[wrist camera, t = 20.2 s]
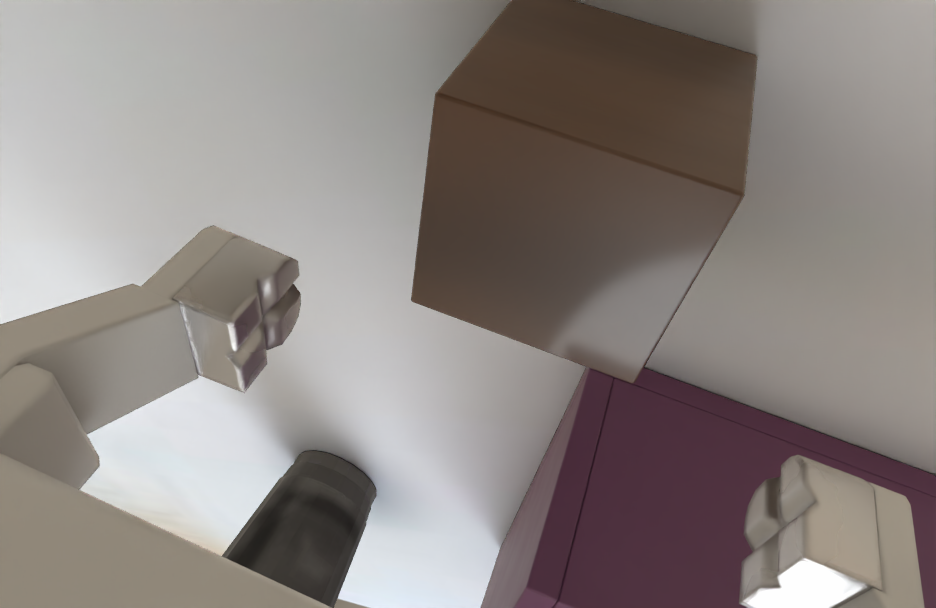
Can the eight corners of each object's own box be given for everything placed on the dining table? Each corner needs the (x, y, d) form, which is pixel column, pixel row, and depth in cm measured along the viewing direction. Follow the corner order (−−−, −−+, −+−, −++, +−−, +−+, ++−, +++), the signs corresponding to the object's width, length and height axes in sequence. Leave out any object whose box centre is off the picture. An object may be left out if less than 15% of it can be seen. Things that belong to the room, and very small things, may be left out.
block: (522, -16, 13) (433, 92, 10) (759, 55, 13) (746, 194, 10) (484, 176, 17) (409, 302, 14) (666, 239, 17) (633, 385, 13)
